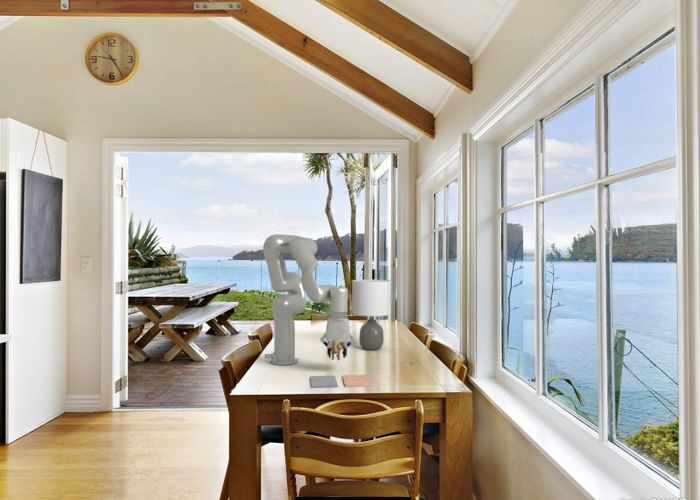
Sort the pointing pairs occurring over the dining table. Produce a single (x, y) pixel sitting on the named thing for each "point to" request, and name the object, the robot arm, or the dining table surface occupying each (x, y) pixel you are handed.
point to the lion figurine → (336, 348)
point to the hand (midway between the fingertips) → (336, 356)
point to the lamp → (371, 309)
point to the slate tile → (323, 381)
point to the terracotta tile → (356, 381)
